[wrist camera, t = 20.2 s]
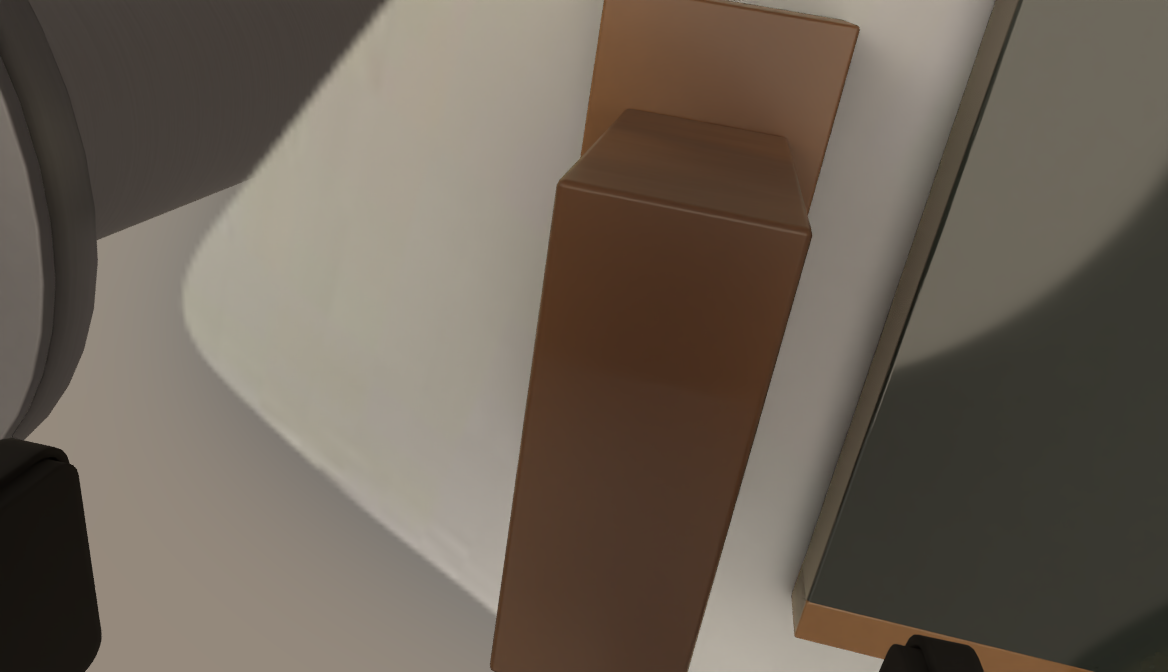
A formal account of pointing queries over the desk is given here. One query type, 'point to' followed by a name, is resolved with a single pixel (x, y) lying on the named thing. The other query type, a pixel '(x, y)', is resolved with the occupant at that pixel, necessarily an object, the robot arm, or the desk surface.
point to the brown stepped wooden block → (661, 325)
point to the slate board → (1021, 371)
